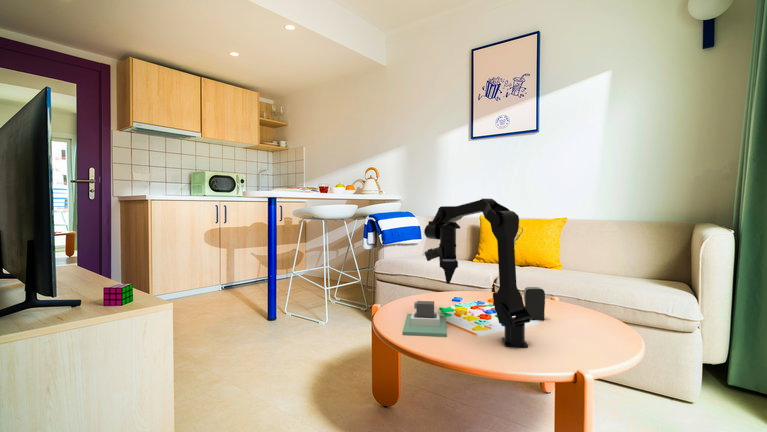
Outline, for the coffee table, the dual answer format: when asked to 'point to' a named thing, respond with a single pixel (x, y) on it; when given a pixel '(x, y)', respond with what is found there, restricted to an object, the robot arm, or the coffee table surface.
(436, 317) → the board
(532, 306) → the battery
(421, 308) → the plug
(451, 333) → the coffee table surface
